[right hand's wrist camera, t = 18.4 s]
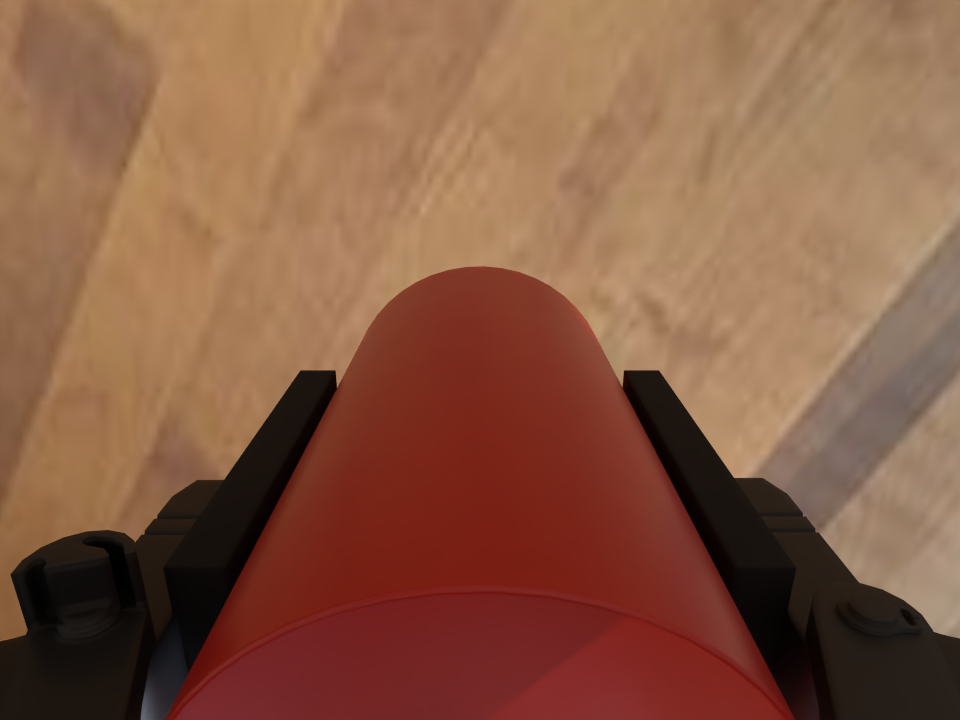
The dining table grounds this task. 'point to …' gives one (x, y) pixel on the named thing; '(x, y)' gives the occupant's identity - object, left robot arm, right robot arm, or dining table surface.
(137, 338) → the dining table surface
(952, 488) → the dining table surface
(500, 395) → the canister
